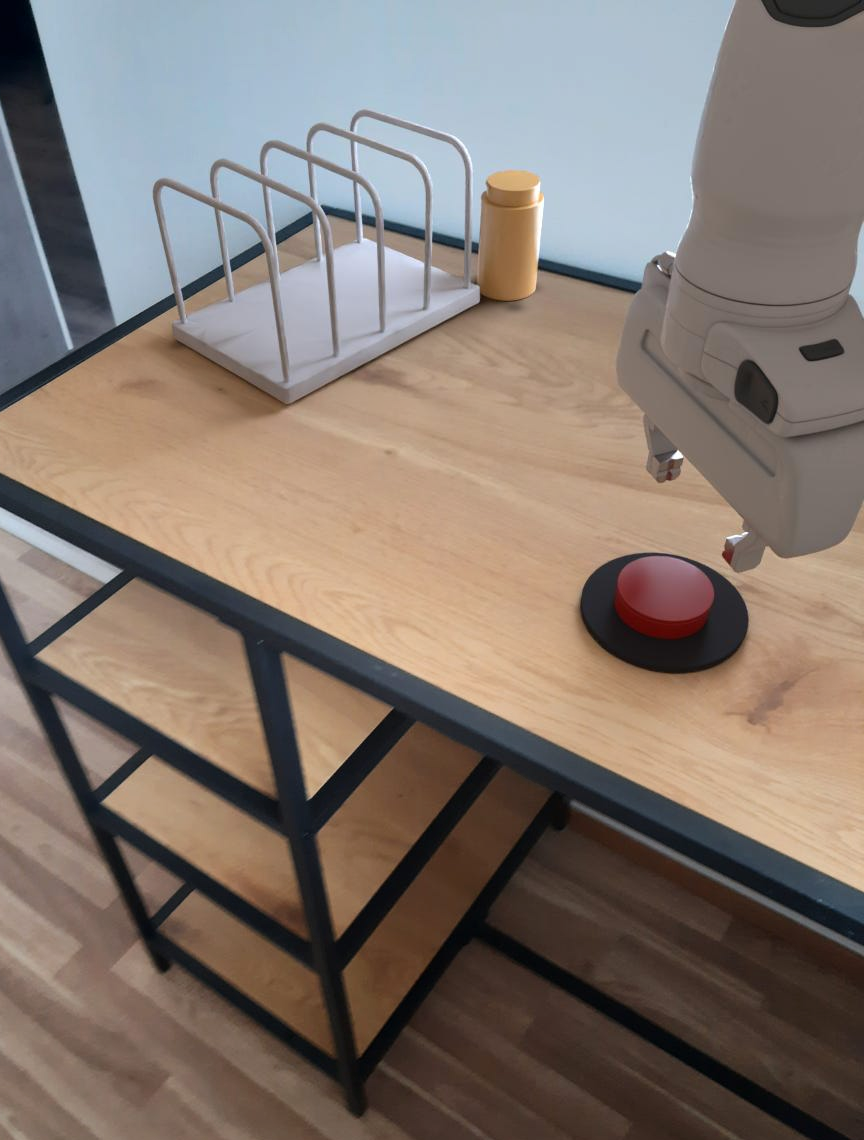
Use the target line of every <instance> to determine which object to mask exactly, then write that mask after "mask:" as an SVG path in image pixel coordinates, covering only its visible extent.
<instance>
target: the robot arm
mask: <svg viewBox="0 0 864 1140" xmlns="http://www.w3.org/2000/svg"><path fill="white" fill-rule="evenodd" d="M731 8H732V9H731V11H730V14H729V17H728V19H727V22H726V25H725V28H724V32H723V35H722V39H721V42H720V46H719V48H718V51H717V54H716V55H717V56H716V58H715V61H714V65H713V69H712V72H711V76H710V80H709V85H708V87H707V91H706V94H705V95H706V96H705V100H704V103H703V106H702V112H701V115H700V120H699V124H698V129H697V135H696V140H695V144H694V150H693V156H692V161H691V165H690V166H691V167H690V188H691V193H692V194H691V198H692V203H691V210H690V216H689V219H688V223H687V225H686V228H685V229H684V231H683V233H682V235H681V237H680V239H679V241H678V244H677V246H676V250H675V253H673V252H670V251H665V252H662V253H660V254H657V255H654V256H653V258H652V259H651V260H649V262H647V263H646V265H645V267H644V270H643V275H642V282H641V287H640V289H638V291H636V292H635V294H634V295H633V297H632V299H631V301H630V304H629V305H628V308H627V312H626V315H625V319H624V322H623V327H622V330H621V333H620V334H621V335H620V339H619V344H618V348H617V353H616V358H615V374H616V380H617V383H618V387H620V389H621V390H622V391H623V392H624V393H625V394H626V395H627V396H628V397H629V398H630V399H631V401H632V402H633V403H634V404H635V405H636V406H637V407H638V408H639V410H641V411H642V413H643V419H642V423H643V428H644V434H645V439H646V445H647V446H646V447H647V450H648V453H647V454H648V455H647V459H646V466H645V469H646V471H647V473H648V474H650V475H651V476H652V478H653V479H654V480H655V481H656V482H657V483H658V484H663V483H666V481H669V482H671V481H674V480H677V479H678V478H679V477H680V475H681V472H682V469H681V467H683V464H684V458H685V459H686V460H687V461H688V462H689V463H690V464H691V465H693V467H694V468H695V469H696V470H697V471H698V473H700V474H701V476H702V477H703V478H704V479H705V480H706V481H707V482H708V483H709V484H710V485H711V486H712V488H714V490H715V491H716V492H717V493H718V494H719V495H720V496H721V497H722V498H723V500H725V501H726V503H728V504H729V506H730V507H731V508H732V509H733V510H734V512H736V513H737V515H738V516H740V517H741V519H742V520H743V522H742V525H741V527H742V530H743V531H744V532H743V533H742V534H741V535H738V534H735V535H731V536H728V537H726V539H725V542H724V545H723V547H724V550H723V551H722V552H721V556H722V557H721V558H723V560H724V561H725V562H726V563H727V564H728V565H729V567H730V568H731V569H732V571H734V572H735V573H737V574H741V573H744V572H747V571H751V570H754V569H756V568H757V567H758V566H760V564H761V562H762V559H763V557H764V553H765V551H766V548H767V547H768V548H769V549H770V550H771V551H772V552H773V553H774V554H775V555H776V556H777V557H778V558H781V559H787V560H788V559H792V558H793V559H794V558H798V557H799V558H800V557H804V556H808V555H811V554H816V553H819V552H822V551H824V550H828V549H831V548H834V547H836V546H837V545H839V544H840V543H842V542H843V541H845V540H846V539H847V538H848V536H849V534H850V533H851V531H852V529H853V527H854V525H855V522H856V520H857V518H858V516H859V513H860V510H861V508H862V505H863V503H864V316H863V314H862V311H861V309H860V307H859V304H858V302H857V301H856V299H855V297H854V296H853V295H852V294H851V293H850V290H851V287H852V285H853V281H854V278H855V276H856V271H857V265H858V244H859V237H860V233H861V229H862V226H863V224H864V0H734V3H733V6H732V7H731Z"/></svg>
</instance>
